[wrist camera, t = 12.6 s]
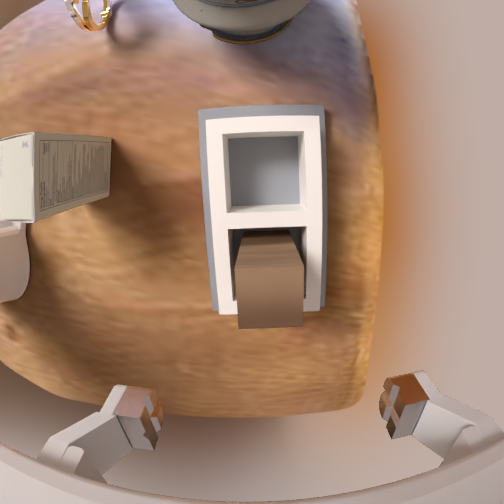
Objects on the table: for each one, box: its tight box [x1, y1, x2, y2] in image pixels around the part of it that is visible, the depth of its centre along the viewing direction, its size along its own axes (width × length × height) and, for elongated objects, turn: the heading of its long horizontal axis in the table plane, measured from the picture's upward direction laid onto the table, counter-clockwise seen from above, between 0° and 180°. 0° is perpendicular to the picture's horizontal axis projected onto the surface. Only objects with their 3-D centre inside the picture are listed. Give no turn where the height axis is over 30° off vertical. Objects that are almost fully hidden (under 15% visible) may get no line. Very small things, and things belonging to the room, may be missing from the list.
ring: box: [64, 0, 112, 32], centre depth 18 cm, size 7×3×8 cm, turn 176°
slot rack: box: [198, 105, 328, 314], centre depth 25 cm, size 19×11×5 cm, turn 3°
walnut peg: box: [234, 230, 304, 329], centre depth 23 cm, size 4×4×10 cm
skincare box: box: [0, 132, 111, 223], centre depth 21 cm, size 6×4×12 cm
